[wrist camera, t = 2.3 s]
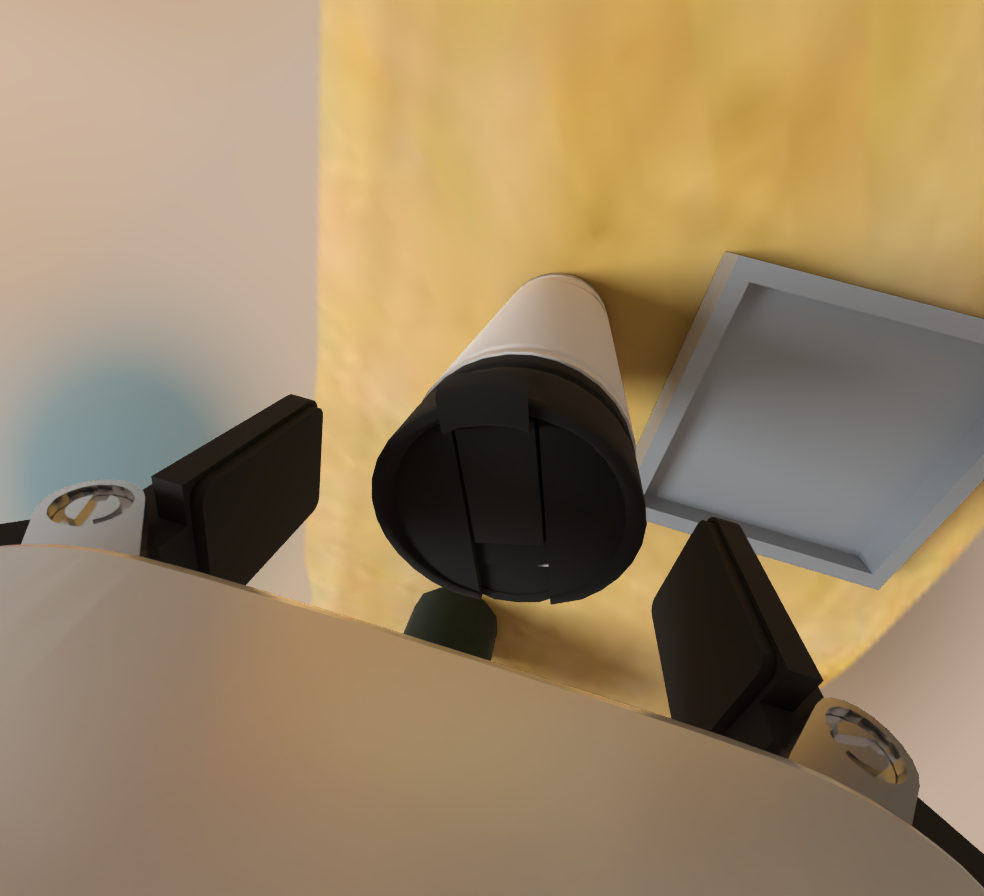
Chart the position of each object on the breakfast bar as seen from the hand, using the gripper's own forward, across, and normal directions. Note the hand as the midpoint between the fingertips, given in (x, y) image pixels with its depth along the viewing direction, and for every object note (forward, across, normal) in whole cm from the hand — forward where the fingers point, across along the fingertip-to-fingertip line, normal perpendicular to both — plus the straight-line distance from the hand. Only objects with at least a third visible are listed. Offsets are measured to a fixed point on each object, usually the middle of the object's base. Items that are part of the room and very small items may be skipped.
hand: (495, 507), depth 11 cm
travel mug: (+19, 0, -1) cm, 19 cm away
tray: (+18, -16, +1) cm, 25 cm away
